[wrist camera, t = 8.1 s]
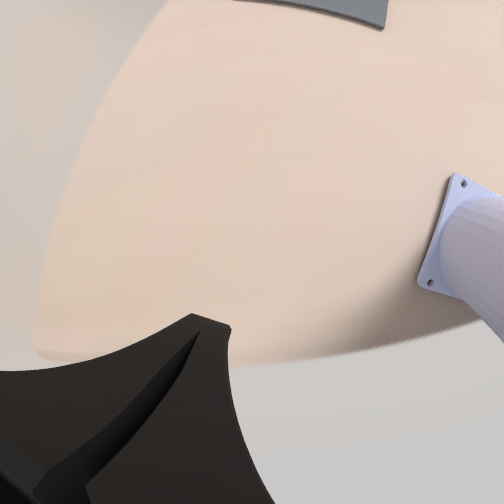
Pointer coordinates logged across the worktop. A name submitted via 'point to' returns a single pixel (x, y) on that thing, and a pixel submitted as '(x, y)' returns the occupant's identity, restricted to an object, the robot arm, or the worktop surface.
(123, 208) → the worktop surface
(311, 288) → the worktop surface
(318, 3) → the mat
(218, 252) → the worktop surface
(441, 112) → the worktop surface
